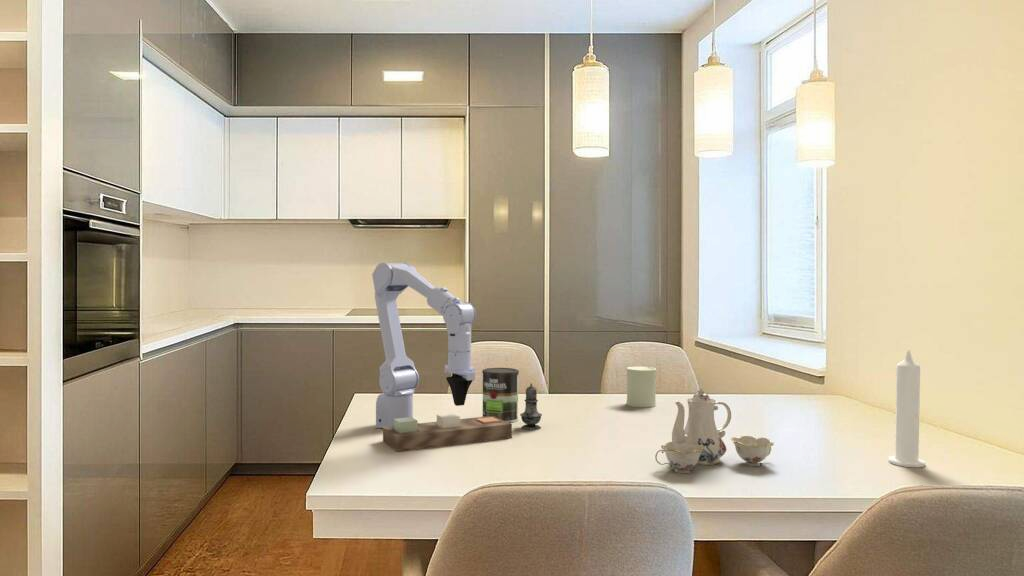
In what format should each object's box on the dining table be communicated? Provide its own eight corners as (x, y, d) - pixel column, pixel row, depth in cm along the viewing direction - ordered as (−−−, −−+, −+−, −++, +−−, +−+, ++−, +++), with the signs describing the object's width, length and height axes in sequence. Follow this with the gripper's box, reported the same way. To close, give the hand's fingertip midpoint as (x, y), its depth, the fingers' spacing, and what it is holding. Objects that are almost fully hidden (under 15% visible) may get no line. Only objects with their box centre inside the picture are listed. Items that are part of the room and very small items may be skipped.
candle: (881, 459, 156) (883, 348, 155) (911, 458, 156) (913, 348, 156) (901, 468, 149) (903, 351, 148) (932, 467, 149) (934, 351, 149)
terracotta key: (484, 434, 175) (484, 422, 175) (476, 431, 179) (476, 418, 179) (499, 432, 177) (499, 420, 177) (492, 429, 181) (492, 417, 181)
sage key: (399, 435, 165) (399, 422, 164) (394, 432, 168) (394, 418, 168) (417, 433, 167) (417, 420, 166) (411, 430, 170) (411, 417, 170)
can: (658, 407, 214) (658, 368, 214) (628, 407, 214) (629, 368, 214) (652, 402, 223) (653, 364, 223) (624, 401, 223) (624, 364, 223)
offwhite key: (443, 431, 170) (443, 418, 170) (436, 427, 174) (436, 414, 173) (459, 429, 172) (459, 416, 172) (452, 425, 176) (452, 413, 175)
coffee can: (510, 425, 189) (510, 373, 189) (476, 421, 193) (476, 371, 193) (524, 417, 199) (524, 368, 198) (491, 414, 203) (491, 366, 202)
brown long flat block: (396, 451, 161) (396, 436, 161) (383, 441, 171) (383, 427, 171) (511, 437, 175) (511, 423, 175) (492, 428, 184) (492, 415, 184)
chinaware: (677, 488, 140) (683, 408, 138) (632, 459, 155) (637, 386, 153) (783, 473, 151) (790, 398, 149) (731, 447, 166) (737, 379, 164)
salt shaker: (540, 430, 182) (540, 385, 182) (518, 429, 184) (518, 384, 183) (543, 425, 188) (543, 381, 188) (522, 424, 189) (522, 381, 189)
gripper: (486, 353, 169) (486, 408, 169) (462, 347, 182) (462, 398, 182) (460, 354, 166) (459, 411, 166) (437, 348, 179) (437, 401, 179)
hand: (459, 405), depth 174 cm, fingers closed
